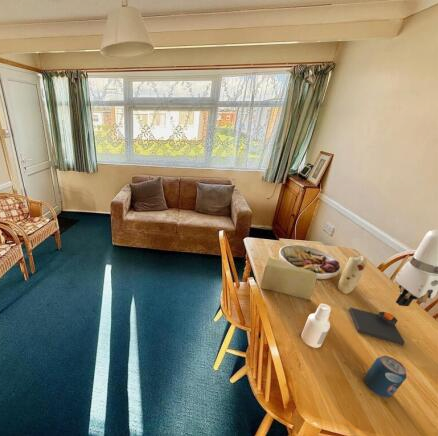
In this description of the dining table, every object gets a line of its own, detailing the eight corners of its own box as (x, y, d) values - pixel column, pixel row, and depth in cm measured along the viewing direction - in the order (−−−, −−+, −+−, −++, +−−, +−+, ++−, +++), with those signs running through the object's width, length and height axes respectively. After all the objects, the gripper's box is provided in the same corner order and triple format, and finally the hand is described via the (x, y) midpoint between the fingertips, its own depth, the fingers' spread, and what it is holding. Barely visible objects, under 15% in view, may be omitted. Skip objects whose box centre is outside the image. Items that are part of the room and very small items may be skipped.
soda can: (389, 404, 71) (407, 381, 66) (360, 385, 76) (375, 362, 71) (393, 389, 75) (410, 366, 70) (365, 372, 80) (380, 349, 75)
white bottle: (324, 349, 87) (341, 315, 80) (305, 346, 88) (319, 313, 81) (316, 334, 93) (330, 301, 86) (297, 331, 94) (310, 299, 87)
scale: (390, 320, 99) (393, 314, 98) (405, 346, 88) (410, 340, 87) (347, 308, 105) (350, 303, 104) (357, 332, 94) (360, 326, 93)
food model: (351, 298, 111) (367, 264, 103) (334, 291, 116) (349, 258, 107) (354, 288, 117) (370, 256, 109) (338, 282, 122) (352, 250, 113)
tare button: (390, 316, 98) (392, 313, 97) (393, 321, 95) (395, 318, 95) (381, 314, 99) (383, 311, 98) (384, 318, 96) (386, 316, 96)
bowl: (275, 270, 131) (278, 259, 128) (279, 246, 154) (282, 236, 151) (340, 289, 117) (346, 277, 113) (334, 260, 140) (338, 249, 136)
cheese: (309, 293, 115) (319, 269, 108) (310, 305, 107) (320, 280, 101) (261, 278, 125) (267, 255, 119) (259, 288, 118) (265, 264, 111)
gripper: (463, 280, 71) (432, 321, 79) (418, 253, 85) (395, 291, 92) (436, 278, 72) (408, 319, 80) (396, 252, 86) (375, 289, 93)
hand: (401, 304), depth 86 cm, fingers closed
